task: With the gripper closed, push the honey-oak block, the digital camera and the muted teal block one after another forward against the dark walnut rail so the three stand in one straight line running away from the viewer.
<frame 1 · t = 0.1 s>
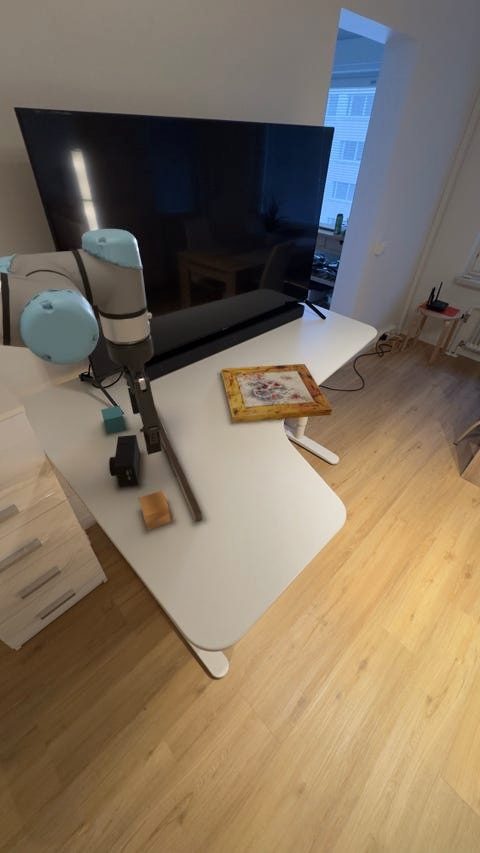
hand: (146, 430, 71), 16 cm above the table, tool pointing down, fingers open, 13 cm apart
teal block: (115, 426, 96), on the table
digital camera: (128, 471, 84), on the table
picture frame: (271, 393, 111), on the table
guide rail: (171, 456, 88), on the table
oak block: (156, 517, 74), on the table
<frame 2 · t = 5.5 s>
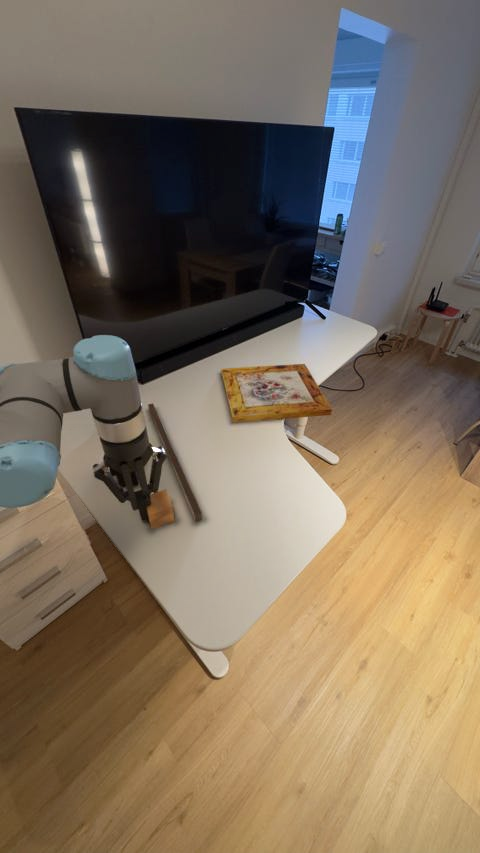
hand: (144, 515, 71), 2 cm above the table, tool pointing down, fingers closed
oak block: (160, 515, 74), on the table, touching gripper
everything else where it was.
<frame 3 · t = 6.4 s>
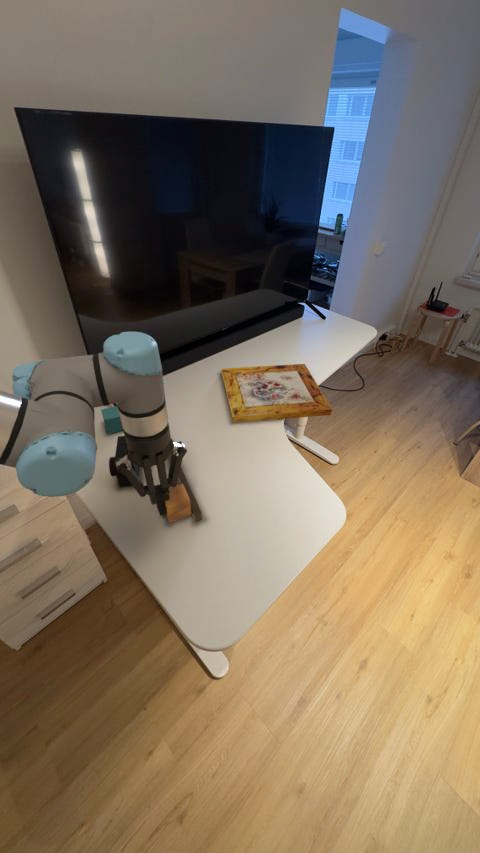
hand: (161, 509, 73), 2 cm above the table, tool pointing down, fingers closed
oak block: (177, 510, 75), on the table, touching gripper
everything else where it was.
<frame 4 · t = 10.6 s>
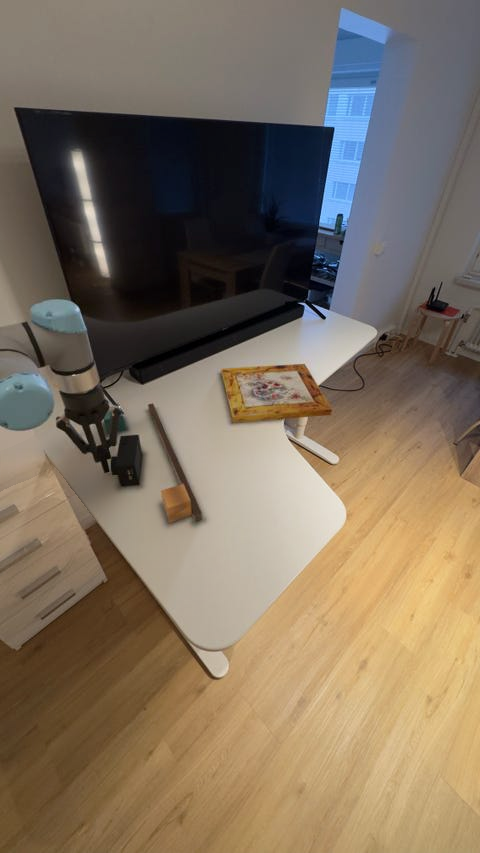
hand: (106, 468, 81), 2 cm above the table, tool pointing down, fingers closed
digital camera: (129, 470, 84), on the table, touching gripper
oak block: (177, 509, 75), on the table
everything else where it was.
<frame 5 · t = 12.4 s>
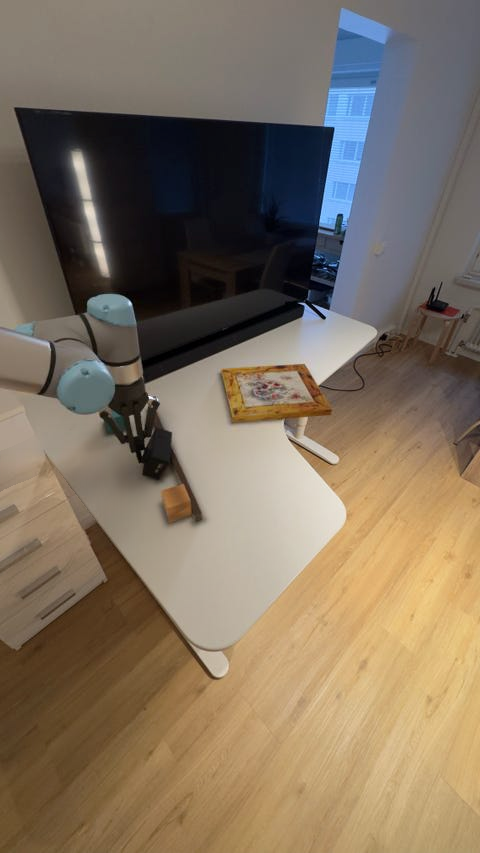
hand: (139, 459, 83), 2 cm above the table, tool pointing down, fingers closed
digital camera: (149, 461, 85), point 1 cm above the table, touching gripper, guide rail
everything else where it was.
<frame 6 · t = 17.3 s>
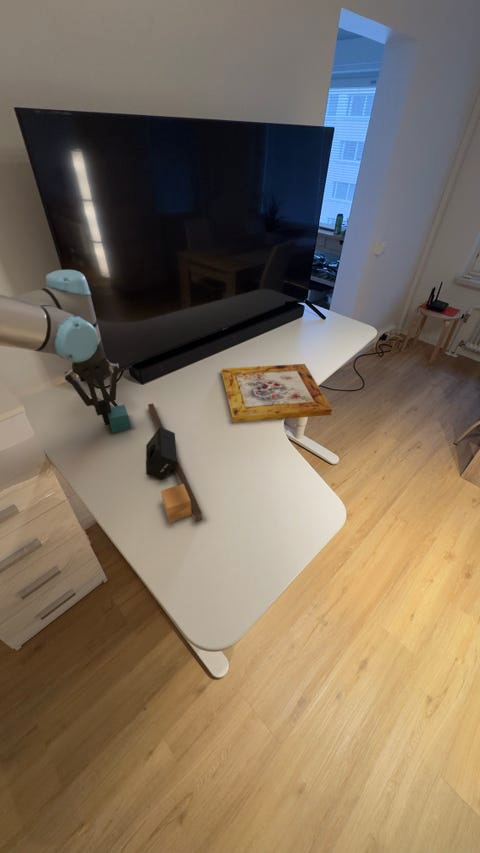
hand: (106, 422, 94), 2 cm above the table, tool pointing down, fingers closed
teal block: (120, 425, 96), on the table, touching gripper
digital camera: (151, 461, 84), point 1 cm above the table, touching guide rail
everything else where it was.
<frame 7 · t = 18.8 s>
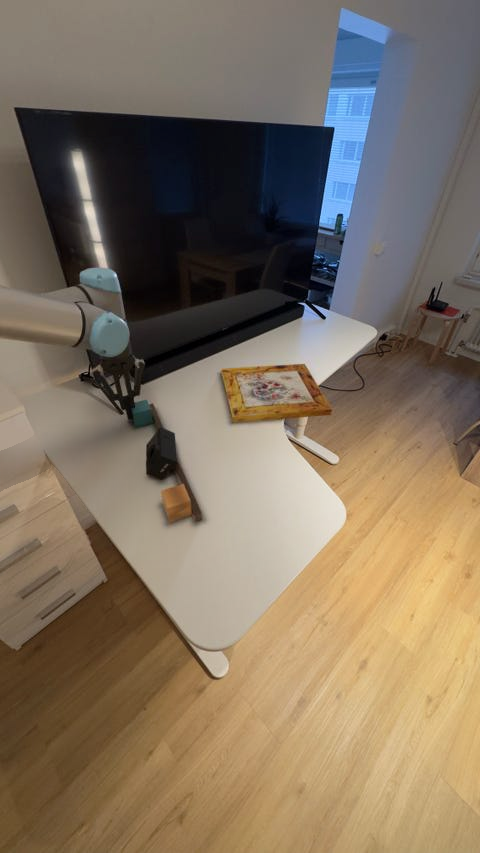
hand: (130, 417, 96), 2 cm above the table, tool pointing down, fingers closed
teal block: (142, 420, 99), on the table, touching gripper
everything else where it was.
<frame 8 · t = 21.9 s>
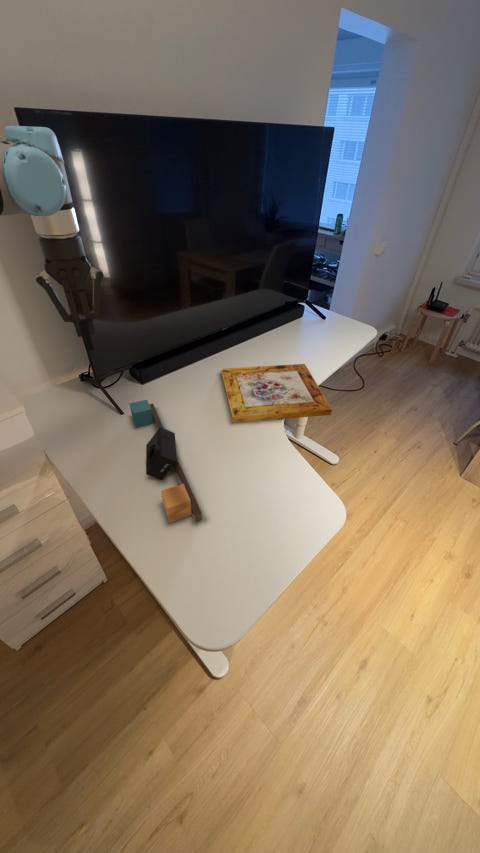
hand: (90, 347, 80), 24 cm above the table, tool pointing down, fingers closed
teal block: (142, 420, 99), on the table
everything else where it was.
at the end: oak block 0.2 cm from the target spot, on the table; digital camera 1.9 cm from the target spot, point 1.5 cm above the table; teal block 0.1 cm from the target spot, on the table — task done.
